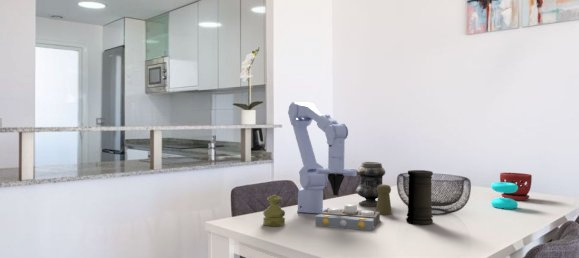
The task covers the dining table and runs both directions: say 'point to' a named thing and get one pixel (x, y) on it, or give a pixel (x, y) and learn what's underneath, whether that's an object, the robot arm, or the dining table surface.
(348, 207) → the middle button
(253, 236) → the dining table surface
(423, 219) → the container
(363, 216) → the button board
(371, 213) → the right button
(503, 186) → the donuts
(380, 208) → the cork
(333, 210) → the left button
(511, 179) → the plant pot
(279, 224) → the olive green tiered piece
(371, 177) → the apothecary jar
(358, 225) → the pattern card
